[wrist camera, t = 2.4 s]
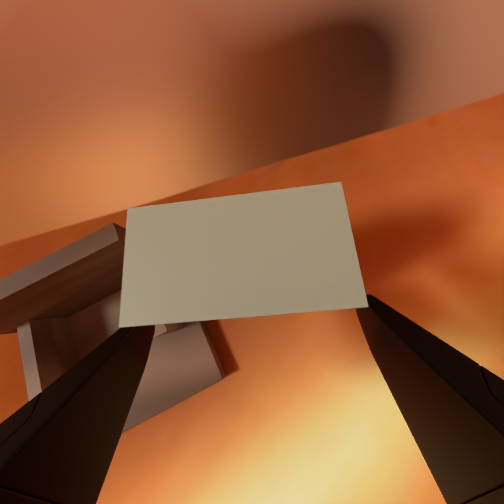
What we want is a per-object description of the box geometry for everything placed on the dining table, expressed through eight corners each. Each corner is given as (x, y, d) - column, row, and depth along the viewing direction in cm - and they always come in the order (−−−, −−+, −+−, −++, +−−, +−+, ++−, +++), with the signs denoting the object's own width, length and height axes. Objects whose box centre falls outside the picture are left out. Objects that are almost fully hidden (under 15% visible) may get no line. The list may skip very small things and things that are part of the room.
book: (298, 302, 18) (369, 308, 5) (225, 309, 18) (118, 328, 5) (293, 263, 18) (341, 181, 6) (223, 270, 19) (127, 208, 6)
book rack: (225, 374, 17) (185, 438, 9) (82, 450, 16) (-87, 584, 9) (172, 246, 20) (109, 211, 12) (52, 307, 19) (-93, 312, 12)
